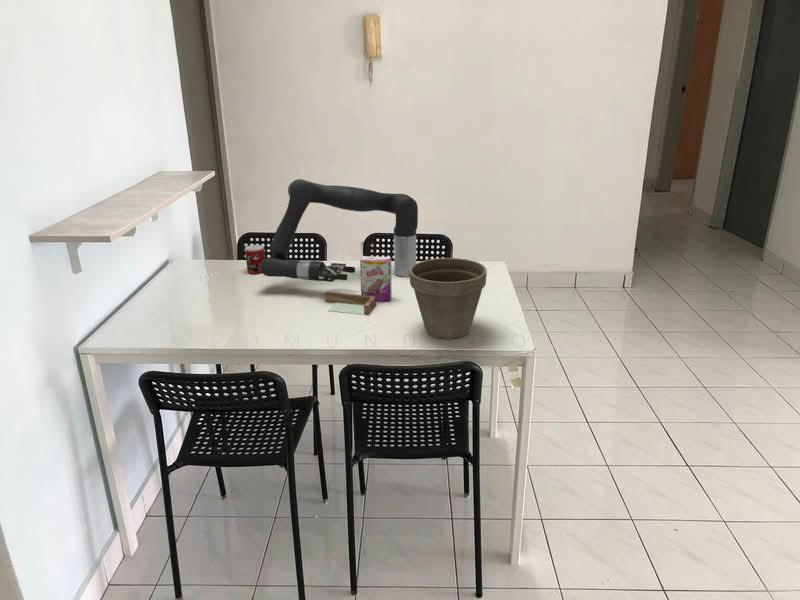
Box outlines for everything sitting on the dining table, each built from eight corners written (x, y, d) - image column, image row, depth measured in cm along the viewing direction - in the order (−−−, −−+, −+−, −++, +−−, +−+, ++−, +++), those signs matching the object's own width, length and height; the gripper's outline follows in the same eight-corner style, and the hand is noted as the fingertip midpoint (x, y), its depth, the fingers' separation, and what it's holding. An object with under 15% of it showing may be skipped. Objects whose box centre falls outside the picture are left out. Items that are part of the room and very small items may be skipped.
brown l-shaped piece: (326, 300, 227) (326, 291, 226) (376, 305, 222) (375, 296, 221) (317, 310, 219) (316, 301, 217) (368, 315, 214) (367, 305, 213)
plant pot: (394, 332, 200) (393, 270, 192) (439, 309, 217) (440, 252, 209) (455, 353, 185) (456, 287, 177) (498, 328, 202) (501, 266, 194)
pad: (335, 302, 225) (335, 302, 225) (371, 306, 221) (371, 305, 221) (327, 311, 218) (327, 310, 218) (364, 314, 214) (364, 314, 214)
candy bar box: (361, 301, 226) (359, 260, 220) (363, 296, 230) (361, 255, 224) (390, 302, 225) (389, 260, 219) (392, 297, 229) (391, 256, 223)
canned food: (243, 272, 259) (241, 248, 254) (257, 267, 265) (255, 243, 261) (256, 275, 254) (253, 251, 250) (270, 270, 261) (267, 246, 256)
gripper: (302, 266, 223) (344, 270, 219) (317, 255, 236) (356, 258, 232) (304, 285, 226) (345, 289, 222) (318, 273, 238) (357, 276, 234)
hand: (351, 273), depth 227 cm, fingers open, 8 cm apart
